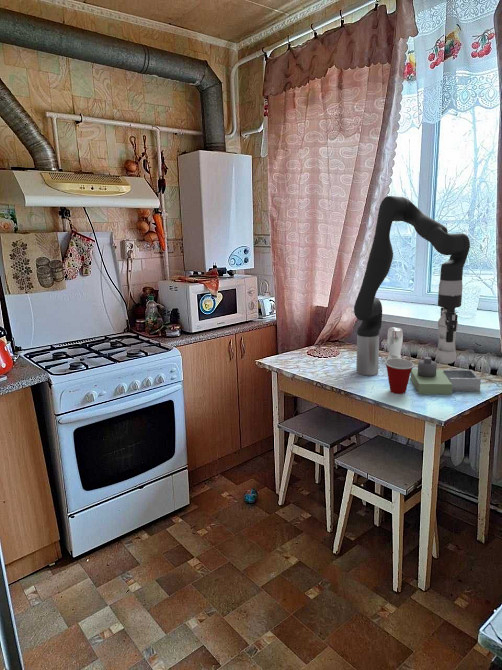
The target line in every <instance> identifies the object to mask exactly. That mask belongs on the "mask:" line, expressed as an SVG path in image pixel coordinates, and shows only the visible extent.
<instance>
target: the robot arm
mask: <svg viewBox="0 0 502 670" xmlns="http://www.w3.org/2000/svg"><path fill="white" fill-rule="evenodd" d="M376 218H377V219H376V225H375V232H374V237H373V240H372V245H371V249H370V252H369V254H368V255H369V256H368V259H367V263H366V268H365V272H364V275H363V278H362V283H361V286H360V290H359V292H358V295H357V297H356V300H355V302H354V306H353V313H354V316H355V318H356V319H357V320H358V321H361V323H360V325H359V326H358V327H357V330H356V332H357V333H356V334H357V335H356V364H355V365H356V369H355V370H356V373H357V374H356V375H362V376H375V375H378V374H379V357H380V355H379V354H380V352H379V351H380V330H381V328H382V322H383V305H382V302H381V300H380V299H379V298H378V297H376V294H377V293H378V292H377V291H378V290H379V288H380V286H381V285H382V283H384V281H385V279H386V277H387V275H389V272H390V269H391V266H392V263H393V260H394V251H393V246H392V243H391V238H390V235H391V230H392V229H391V228H392V224H393V222H403V223H407V224H409V225H411V226H412V227H413V228H414V230H415V232H416V233H417V234H418V235H419V237H421V238H422V239H424V240H426V241H427V242H429V243H430V244H431V245H432V247H433V249H434V250H436V252H438V253H439V254H441V255H443V256H449V259H448V260H447V261H445V262H444V263H442V264H441V265H440V273H439V274H440V276H439V283H438V293H437V294H438V295H437V306H438V307H440V317H441V316H442V315H443V317H444V319H445V325H446V331H447V332H446V342H453V334H454V331H456V327H457V328H458V326H457V321H458V318H459V315H458V314H457V312H456V309H457V308H460V307H462V301H463V300H462V299H463V288H464V287H463V275H464V266H465V264H466V261H467V258H468V255H469V252H470V249H471V242H470V238H469V237H468V235H467V234H466V233H462V232H458V233H449V232H448V228H447V227H446V226H445V225H444V224H442V223H440V222H439V221H437V220H435V219H433V218H432V217H430V216H428V215H427V214H425V213H424V212H423V211H422V210H421V209H419V208H418V207H417V206H416V205H415V204H414V203H413V202H412V201H411V200H410V199H409V198H407V197H403V196H394V195H389V196H386V197H384V198H383V199H382V201H381V202H380V205H379V208H378V213H377V217H376ZM443 308H445V309H447V312H444V313H443ZM447 320H448V321H449V322H447ZM451 325H452V328H450V326H451ZM456 332H457V331H456Z"/></svg>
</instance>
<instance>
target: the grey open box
mask: <svg viewBox="0 0 502 670" xmlns="http://www.w3.org/2000/svg"><path fill="white" fill-rule="evenodd" d="M442 371H443V372H444V374H445V375H446V376H447V378H448V379H449V380H450V382H451V383H452V392H481V381H482V379H481V378H480V377H479V375H478V374H477V373H476V372H475V371H474V370H473V369H442Z"/></svg>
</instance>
